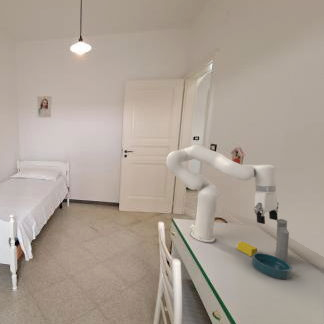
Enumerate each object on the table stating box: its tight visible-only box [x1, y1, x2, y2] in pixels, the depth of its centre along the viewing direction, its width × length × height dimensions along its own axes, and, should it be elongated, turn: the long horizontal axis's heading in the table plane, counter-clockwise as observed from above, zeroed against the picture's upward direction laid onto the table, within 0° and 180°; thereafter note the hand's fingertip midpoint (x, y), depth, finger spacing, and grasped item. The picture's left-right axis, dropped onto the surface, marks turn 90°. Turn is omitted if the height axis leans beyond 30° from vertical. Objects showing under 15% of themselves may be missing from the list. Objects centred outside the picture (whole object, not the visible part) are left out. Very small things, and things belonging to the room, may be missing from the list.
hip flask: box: [275, 218, 290, 263], centre depth 106 cm, size 16×4×20 cm, turn 138°
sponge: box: [236, 241, 258, 257], centre depth 111 cm, size 7×4×4 cm, turn 17°
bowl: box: [251, 252, 292, 280], centre depth 97 cm, size 13×13×4 cm
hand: (267, 221), depth 105 cm, fingers open, 9 cm apart
